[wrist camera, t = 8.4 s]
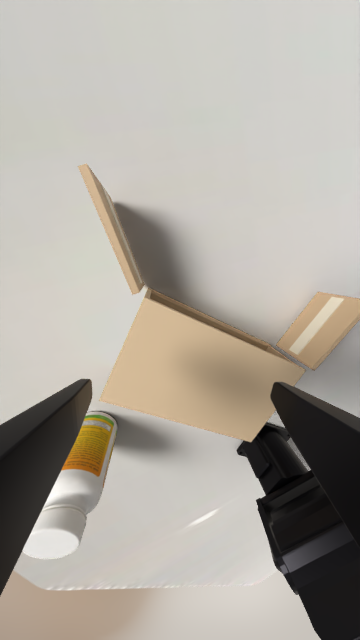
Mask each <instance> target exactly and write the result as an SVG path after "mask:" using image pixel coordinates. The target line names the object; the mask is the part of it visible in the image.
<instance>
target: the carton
mask: <svg viewBox="0 0 360 640" xmlns="http://www.w3.org/2000/svg"><path fill="white" fill-rule="evenodd" d="M305 371H306V370H305V369H304V368H302V367H300V366H298V365H296V364H295V363H294V362H292V361H291V360H289V359H288V358H287V357H285V356H284V355H282V354H281V353H280V352H278V351H277V350H275V349H274V348H273V347H271V345H270V344H268V343H266V342H264V341H262V340H260V339H257V338H255V337H253V336H251V335H249V334H247V333H245V332H243V331H240V330H238V329H236V328H234V327H232V326H230V325H228V324H225V323H223V322H221V321H219V320H217V319H215V318H213V317H210V316H208V315H206V314H204V313H202V312H200V311H198V310H196V309H193V308H191V307H189V306H187V305H185V304H183V303H181V302H178V301H176V300H174V299H172V298H170V297H168V296H166V295H164V294H161V293H159V292H157V291H155V290H153V289H151V288H148V290H147V292H146V294H145V297H144V299H143V301H142V304H141V306H140V308H139V310H138V313H137V315H136V317H135V319H134V322H133V324H132V326H131V329H130V331H129V333H128V335H127V338H126V340H125V342H124V344H123V347H122V349H121V351H120V353H119V356H118V358H117V360H116V363H115V365H114V367H113V369H112V372H111V374H110V376H109V379H108V381H107V383H106V385H105V388H104V390H103V392H102V395H101V397H100V399H99V401H102V402H106V403H110V404H113V405H117V406H121V407H124V408H128V409H132V410H135V411H139V412H142V413H146V414H150V415H153V416H157V417H161V418H164V419H168V420H172V421H175V422H179V423H183V424H186V425H190V426H194V427H197V428H201V429H205V430H208V431H212V432H215V433H219V434H223V435H226V436H230V437H234V438H237V439H241V440H245V441H248V442H252V440H253V439H254V438H255V437H256V435H257V434H258V433H259V431H260V430H261V429H262V427H263V426H264V425H265V423H266V422H267V421H268V419H269V418H270V417H271V416H272V414H273V413H274V412H275V410H276V409H275V407H274V405H273V403H272V401H271V398H270V394H271V391H272V387H273V384H274V382H285V383H287V384H289V385H291V386H293V387H294V385H295V384H296V383H297V381H298V380H299V379H300V378H301V376H302V375H303V374H304V372H305Z"/></svg>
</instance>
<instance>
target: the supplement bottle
mask: <svg viewBox="0 0 360 640" xmlns="http://www.w3.org/2000/svg"><path fill="white" fill-rule="evenodd" d="M116 434H117V423H116V421H115V420H114V419H113V418H112V417H111V416H110V415H108V414H106V413H103V412H98V411H94V412H88V413H86V416H85V419H84V421H83V424H82V427H81V429H80V432H79V434H78V437H77V439H76V441H75V443H74V445H73V447H72V449H71V451H70V453H69V455H68V458H67V460H66V462H65V464H64V466H63V468H62V470H61V472H60V474H59V476H58V478H57V480H56V482H55V484H54V486H53V488H52V490H51V493H50V495H49V497H48V499H47V501H46V503H45V505H44V507H43V509H42V511H41V513H40V515H39V517H38V519H37V521H36V523H35V525H34V528H33V530H32V532H31V534H30V536H29V538H28V540H27V542H26V544H25V546H24V548H23V552H24V553H25V554H27V555H29V556H31V557H34V558H38V559H56V558H61V557H64V556H67V555H69V554H71V553H72V552H74V551H75V550H76V549H77V548H78V546H79V544H80V542H81V538H82V535H83V531H84V528H85V526H86V519H87V517H86V515H87V514H88V513H90V512H91V511H92V510H93V509H94V508H95V507H96V505H97V504H98V502H99V500H100V497H101V494H102V491H103V487H104V483H105V479H106V475H107V471H108V466H109V463H110V459H111V455H112V451H113V446H114V442H115V438H116Z"/></svg>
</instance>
